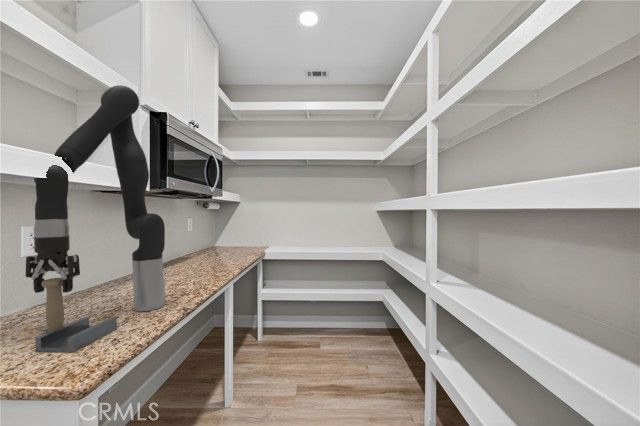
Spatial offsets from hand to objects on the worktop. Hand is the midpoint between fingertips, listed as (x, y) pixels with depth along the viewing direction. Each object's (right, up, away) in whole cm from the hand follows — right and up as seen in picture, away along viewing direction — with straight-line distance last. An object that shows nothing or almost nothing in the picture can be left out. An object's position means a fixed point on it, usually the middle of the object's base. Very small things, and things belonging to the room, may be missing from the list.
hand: (53, 292), depth 86 cm
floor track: (+12, -11, -5) cm, 17 cm away
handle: (0, -12, +1) cm, 12 cm away
